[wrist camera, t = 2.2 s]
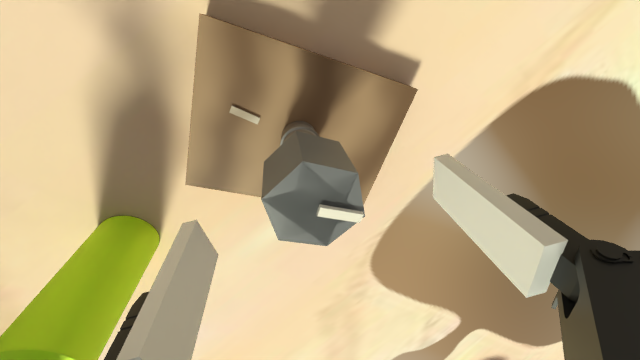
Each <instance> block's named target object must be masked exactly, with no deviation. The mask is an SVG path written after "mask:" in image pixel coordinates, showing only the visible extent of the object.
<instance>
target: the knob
mask: <svg viewBox="0 0 640 360" xmlns="http://www.w3.org/2000/svg"><path fill="white" fill-rule="evenodd" d="M261 200H262V202H263V204H264V207H265V209H266V212H267V214H268V216H269V219H270V221H271V224H272V226H273V228H274V231H275V233H276V235H277V238H278V240H281V241H289V242H298V243H306V244H314V245H322V246H328V245H329V244H330V243H331V242H333V241H334V240H335V239H337V238H338V237H339V236H340V235H342V234H343V233H344V232H346V231H347V230H348V229H349V228H351V227H352V226H353V225H355V224H356V223H360V222H361V220H362V218H363V217H365V214H364V207H363V201H362V194H361V188H360V181H359V175H358V172H357V170H356V169H355V167H354V165H353V164H352V162H351V160H350V159H349V157H348V155H347V154H346V152H345V150H344V149H343V147H342V145H341V144H340V142H339V141H335V140H331V139H327V138H323V137H319V136H315V135H311V134H307V133H303V132H299V131H295V132H294V133H293V134H292V135H291V136H290V137H289V138H288V139H287V140H286V141H285V142H284V143H283V144H282V145H281V146H280V147H279V148H278V149H277V150H276V151H274V152H273V153H272V154H271V155H270V156H269V157H268V158H267V159H266V160H265V161H264V167H263V182H262V197H261Z"/></svg>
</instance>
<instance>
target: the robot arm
mask: <svg viewBox="0 0 640 360" xmlns="http://www.w3.org/2000/svg"><path fill="white" fill-rule="evenodd" d="M433 198H434V199H435V200H436V202H437V203H439V205H440V206H441V207H442V208H443V209H444V210H445V211H446V212H447V213H448V214H449V215H450V216H451V218H452V219H453V220H454V221H455V222H456V223H457V224H458V225H459V226H460V227H461V228H462V229H463V230H464V231H465V233H466V234H467V235H468V236H469V237H470V238H471V239H472V240H473V241H474V242H475V243H476V244H477V245H478V246H479V247H480V249H481V250H482V251H483V252H484V253H485V254H486V255H487V256H488V257H489V258H490V259H491V260H492V261H493V263H495V265H496V266H497V267H498V268H499V269H500V270H501V271H502V272H503V273H504V274H505V275H506V276H507V277H508V278H509V280H510V281H512V283H513V284H514V285H515V286H516V287H517V288H518V289H519V290H520V291H521V292H522V293H523V295H524V296H525V297H530V296H534V295H538V294H541V293H545V292H546V291H547V288H548V286H549V284H550V282H551V283H552V284H553V285H554V286H555V287H557V288H558V289H559V290H558V292H557V294H556V297H555V299H554V301H553V303H552V308H553V309H556V307H557V305H558V308H559V317H560V325H561V333H562V342H563V350H564V358H565V360H640V251H628V250H626V249H625V248H622V247H620V246H618V245H616V244H614V243H609V242H606V241H601V240H589V239H587V238H585V237H584V236H582V235H581V234H579V233H578V232H576V231H575V230H573V229H572V228H570V227H569V226H567V225H566V224H565V223H563V222H562V221H560V220H558V219H557V218H556V217H554V216H553V215H549V213H548V212H547V211H545V210H544V209H542V208H539V206H538V205H536V204H534V203H533V202H532V201H530V200H529V199H527V198H524V197H521V196H519V195H516V194H510V195H504V194H503V193H502V192H500V191H499V190H498V189H496V188H495V187H493V186H492V185H491V184H489V183H488V182H486V181H485V180H484V179H482V178H481V177H479V176H478V175H477V174H475V173H474V172H473V171H471V170H470V169H468V168H467V167H466V166H464V165H463V164H461V163H460V162H459V161H457V160H456V159H454V158H453V157H452V156H450V155H449V154H445V155H441V156H437V157H434V178H433ZM217 258H218V253H217V252H216V250H215V249H214V247H213V245H212V244H211V242H210V241H209V239H208V237H207V236H206V234H205V233H204V231H203V229H202V228H201V226H200V224H199V223H198V221H197V220H194V221H190V222H186V223H183V224H182V226H181V228H180V230H179V232H178V234H177V236H176V238H175V240H174V242H173V244H172V246H171V248H170V250H169V252H168V254H167V256H166V259H165V261H164V263H163V265H162V267H161V269H160V271H159V273H158V275H157V277H156V279H155V281H154V283H153V285H152V287H151V289H150V291H149V292H146V293H143V294H142V295H141V296H140V297H139V298H138V299H137V301H136V302H135V303H134V304H133V305H132V307H131V309H130V311H129V313H128V315H127V317H126V321H124V322H123V324H122V326H121V328H120V331H119V332H118V334H117V336H116V338H115V340H114V341H113V343H112V345H111V347H110V349H109V351H108V353H107V355H106V357H105V359H104V360H191V358H192V354H193V350H194V347H195V343H196V339H197V335H198V331H199V327H200V324H201V320H202V316H203V312H204V308H205V304H206V300H207V297H208V293H209V289H210V285H211V281H212V277H213V273H214V270H215V266H216V262H217Z"/></svg>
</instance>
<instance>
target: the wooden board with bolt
mask: <svg viewBox="0 0 640 360" xmlns="http://www.w3.org/2000/svg"><path fill="white" fill-rule="evenodd" d="M417 90H418V89H416V88H413V87H411V86H408V85H406V84H403V83H400V82H397V81H394V80H391V79H388V78H385V77H383V76H380V75H377V74H374V73H371V72H368V71H365V70H362V69H360V68H357V67H354V66H351V65H348V64H345V63H342V62H339V61H337V60H334V59H331V58H328V57H325V56H322V55H319V54H317V53H314V52H311V51H308V50H305V49H302V48H299V47H296V46H294V45H291V44H288V43H285V42H282V41H279V40H276V39H273V38H271V37H268V36H265V35H262V34H259V33H256V32H253V31H251V30H248V29H245V28H242V27H239V26H236V25H233V24H230V23H228V22H225V21H222V20H219V19H216V18H213V17H210V16H207V15H204V14H199V26H198V39H197V51H196V63H195V75H194V87H193V100H192V112H191V124H190V136H189V148H188V160H187V173H186V185H191V186H197V187H203V188H209V189H215V190H221V191H227V192H233V193H239V194H245V195H251V196H257V197H262V182H263V167H264V161H265V160H266V159H267V158H268V157H269V156H270V155H271V154H272V153H273V152H274V151H276V150H277V149H278V148H279V147H280V146H281V145H282V144H283V143H284V142H285V141H286V140H287V139H288V138H289V137H290V136H291V135H292V134H293V133H294V132H295V131H299V132H303V133H307V134H311V135H315V136H319V137H323V138H327V139H331V140H335V141H339V142H340V144H341V145H342V147H343V149H344V150H345V152H346V154H347V155H348V157H349V159H350V160H351V162H352V164H353V165H354V167H355V169H356V170H357V172H358V175H359V181H360V188H361V194H362V201H363V205H364V203H365V200H366V198H367V196H368V194H369V192H370V190H371V188H372V186H373V183H374V181H375V179H376V177H377V175H378V173H379V171H380V169H381V166H382V164H383V162H384V160H385V158H386V156H387V154H388V152H389V149H390V147H391V145H392V143H393V141H394V139H395V137H396V135H397V132H398V130H399V128H400V126H401V124H402V122H403V120H404V118H405V116H406V113H407V111H408V109H409V107H410V105H411V103H412V101H413V99H414V96H415V94H416V92H417Z"/></svg>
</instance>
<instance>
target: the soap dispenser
mask: <svg viewBox="0 0 640 360" xmlns="http://www.w3.org/2000/svg"><path fill="white" fill-rule="evenodd" d="M158 245H159V235H158V233H157V231H156V230H155V228H154V227H153V226H152V225H150V224H149V223H147V222H146V221H144V220H142V219H139V218H136V217H131V216H115V217H111V218H108V219H106V220H104V221H103V222H102V223H101V224H100V225H99V226H98V227H97V228H96V229H95V231H94V232H93V233H92V234H91V235H90V236H89V237H88V239H87V240H86V241H85V242H84V243H83V244H82V245H81V246H80V248H79V249H78V250H77V251H76V252H75V253H74V254H73V255H72V257H71V258H70V259H69V260H68V261H67V262H66V263H65V264H64V266H63V267H62V268H61V269H60V270H59V271H58V272H57V273H56V275H55V276H54V277H53V278H52V279H51V280H50V281H49V282H48V284H47V285H46V286H45V287H44V288H43V289H42V290H41V291H40V293H39V294H38V295H37V296H36V297H35V298H34V299H33V301H32V302H31V303H30V304H29V305H28V306H27V307H26V308H25V310H24V311H23V312H22V313H21V314H20V315H19V316H18V317H17V319H16V320H15V321H14V322H13V323H12V324H11V325H10V326H9V328H8V329H7V330H6V331H5V332H4V333H3V334H2V335H1V337H0V360H98V358H99V356H100V354H101V353H102V351H103V349H104V347H105V345H106V343H107V341H108V339H109V338H110V336H111V334H112V332H113V330H114V328H115V326H116V324H117V322H118V321H119V319H120V317H121V315H122V313H123V311H124V309H125V307H126V305H127V304H128V302H129V300H130V298H131V296H132V294H133V292H134V290H135V288H136V287H137V285H138V283H139V281H140V279H141V277H142V275H143V273H144V271H145V270H146V268H147V266H148V264H149V262H150V260H151V258H152V256H153V254H154V253H155V251H156V249H157V247H158Z"/></svg>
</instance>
